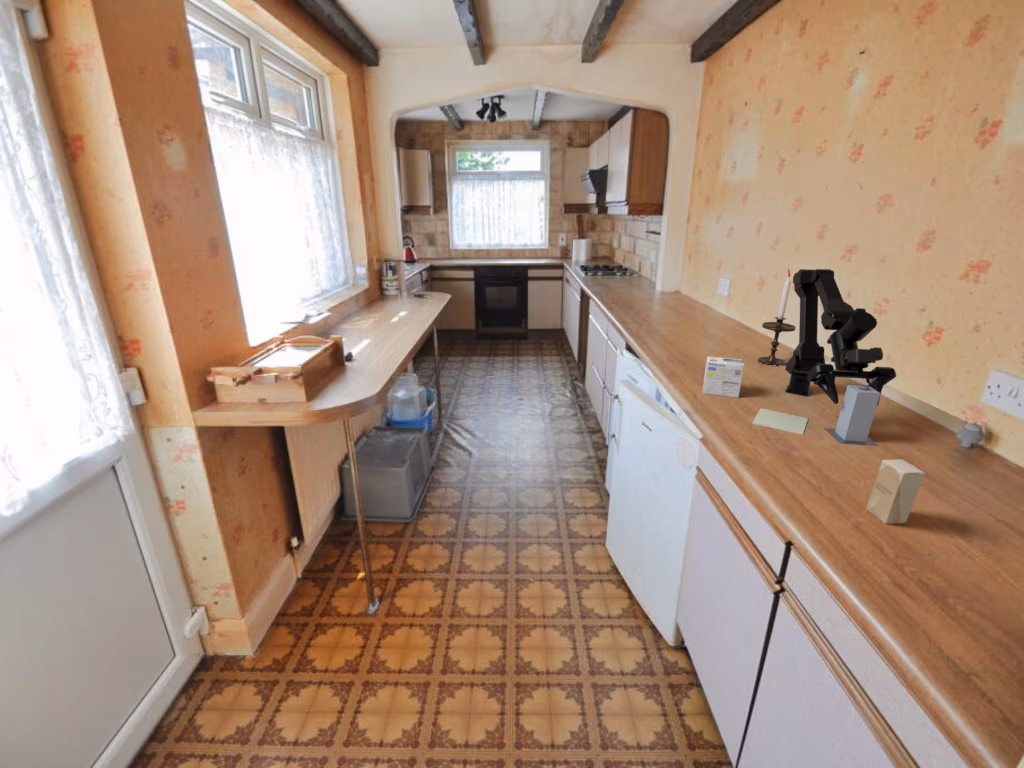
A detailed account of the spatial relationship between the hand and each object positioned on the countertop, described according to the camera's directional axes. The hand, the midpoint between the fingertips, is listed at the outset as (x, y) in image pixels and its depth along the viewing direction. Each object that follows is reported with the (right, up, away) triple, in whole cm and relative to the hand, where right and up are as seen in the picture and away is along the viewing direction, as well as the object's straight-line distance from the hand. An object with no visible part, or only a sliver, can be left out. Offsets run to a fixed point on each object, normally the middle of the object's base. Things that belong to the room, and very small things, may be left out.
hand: (856, 404), depth 122 cm
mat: (-13, -5, +11) cm, 18 cm away
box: (-15, -20, -29) cm, 39 cm away
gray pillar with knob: (0, -8, +2) cm, 8 cm away
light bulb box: (-21, +2, +32) cm, 38 cm away
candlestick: (+12, +13, +62) cm, 64 cm away
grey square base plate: (0, -9, +2) cm, 9 cm away
